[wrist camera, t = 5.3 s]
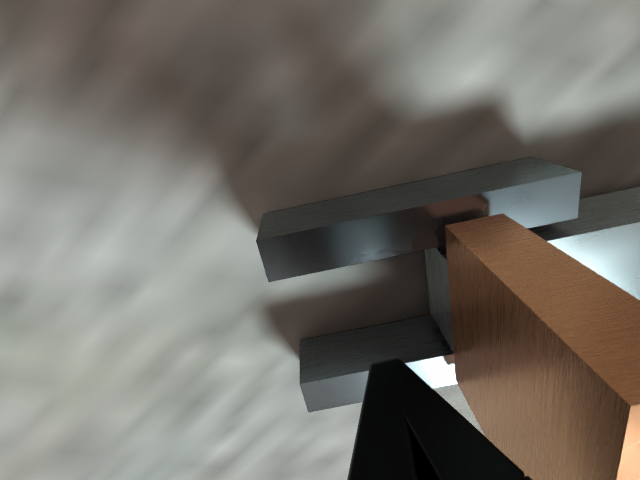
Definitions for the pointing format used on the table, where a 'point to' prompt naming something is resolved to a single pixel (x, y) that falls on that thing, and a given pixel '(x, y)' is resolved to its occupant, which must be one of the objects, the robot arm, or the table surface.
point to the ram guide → (396, 239)
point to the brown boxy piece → (548, 335)
